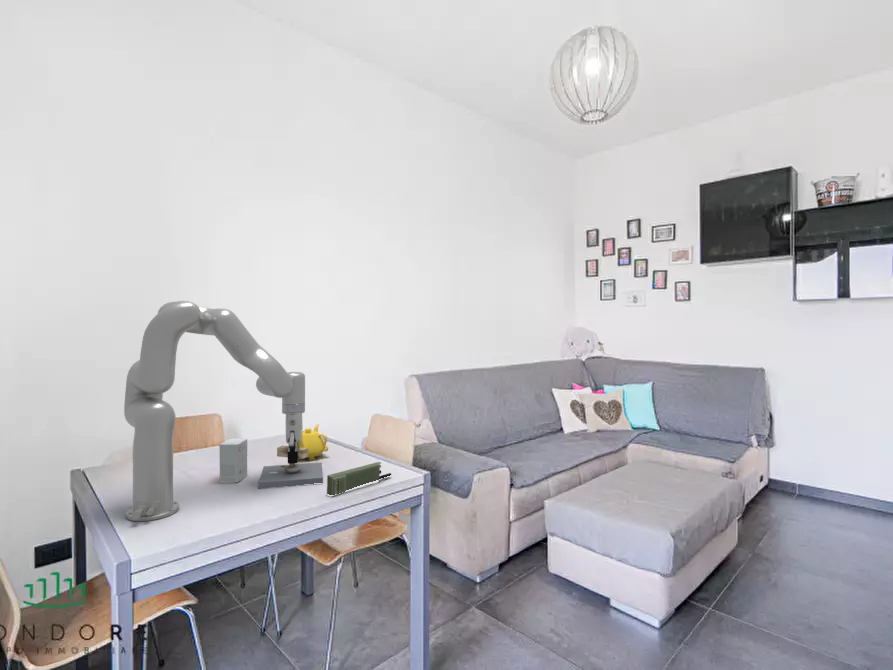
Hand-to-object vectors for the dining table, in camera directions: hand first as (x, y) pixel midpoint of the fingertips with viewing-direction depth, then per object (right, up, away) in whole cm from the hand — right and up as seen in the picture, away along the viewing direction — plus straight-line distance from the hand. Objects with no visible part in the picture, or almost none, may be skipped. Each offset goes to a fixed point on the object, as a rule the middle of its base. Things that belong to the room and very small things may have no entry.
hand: (293, 460), depth 162 cm
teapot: (-1, -6, +25) cm, 26 cm away
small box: (-20, -6, -2) cm, 21 cm away
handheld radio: (+25, -7, -8) cm, 27 cm away
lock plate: (0, -6, 0) cm, 6 cm away
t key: (0, -4, 0) cm, 4 cm away
